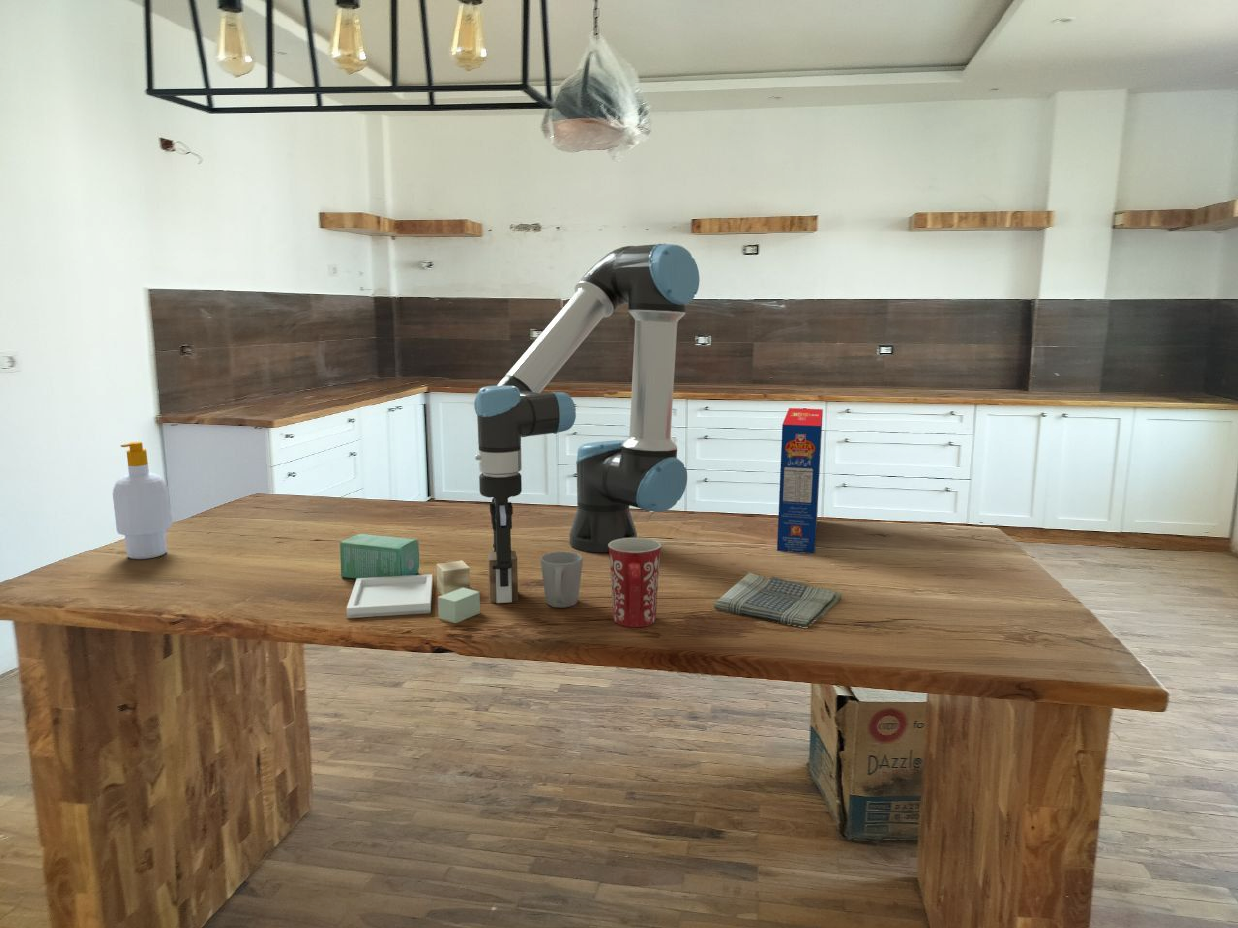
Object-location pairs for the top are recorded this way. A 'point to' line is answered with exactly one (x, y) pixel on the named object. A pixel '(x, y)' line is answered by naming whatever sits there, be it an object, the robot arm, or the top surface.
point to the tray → (390, 596)
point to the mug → (634, 580)
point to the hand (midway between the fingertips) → (503, 595)
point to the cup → (561, 578)
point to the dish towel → (778, 600)
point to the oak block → (452, 576)
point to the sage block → (459, 605)
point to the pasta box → (799, 480)
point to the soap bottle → (142, 507)
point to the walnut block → (492, 576)
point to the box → (378, 556)
